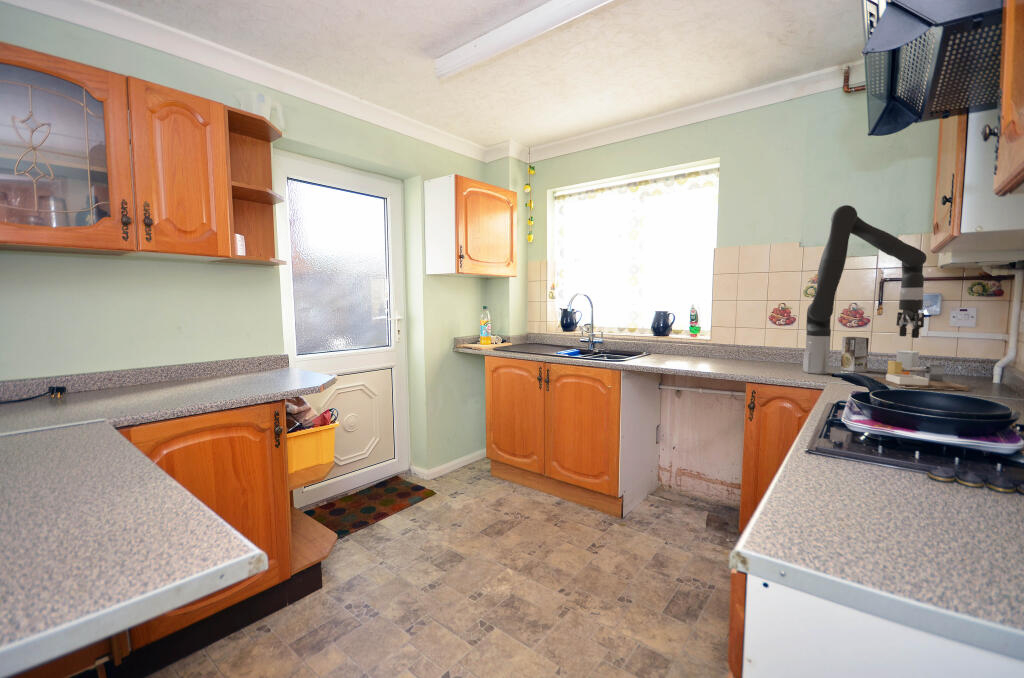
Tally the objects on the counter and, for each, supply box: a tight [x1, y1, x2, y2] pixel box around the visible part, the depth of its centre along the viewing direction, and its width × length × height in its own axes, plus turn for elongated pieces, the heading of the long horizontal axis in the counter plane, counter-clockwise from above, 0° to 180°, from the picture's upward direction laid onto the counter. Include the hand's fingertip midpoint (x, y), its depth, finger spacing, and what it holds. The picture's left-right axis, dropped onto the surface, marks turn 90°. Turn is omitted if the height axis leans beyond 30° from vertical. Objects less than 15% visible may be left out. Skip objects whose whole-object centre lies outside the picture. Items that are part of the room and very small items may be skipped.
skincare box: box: [895, 350, 920, 376], centre depth 191 cm, size 6×4×12 cm
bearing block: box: [922, 362, 945, 381], centre depth 180 cm, size 4×5×6 cm
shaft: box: [886, 360, 930, 374], centre depth 182 cm, size 14×5×6 cm, turn 76°
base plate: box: [873, 376, 970, 392], centre depth 177 cm, size 22×18×2 cm
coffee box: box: [840, 336, 870, 373], centre depth 214 cm, size 9×6×16 cm
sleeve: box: [885, 373, 929, 385], centre depth 174 cm, size 9×9×2 cm
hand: (908, 337), depth 190 cm, fingers open, 8 cm apart
